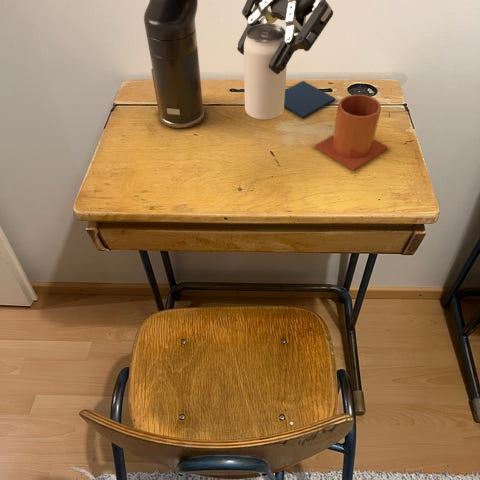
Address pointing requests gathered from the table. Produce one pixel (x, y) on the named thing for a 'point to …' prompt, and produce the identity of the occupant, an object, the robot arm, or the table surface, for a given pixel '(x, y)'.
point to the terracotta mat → (351, 162)
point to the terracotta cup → (355, 125)
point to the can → (263, 72)
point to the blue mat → (305, 99)
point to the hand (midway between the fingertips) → (257, 61)
